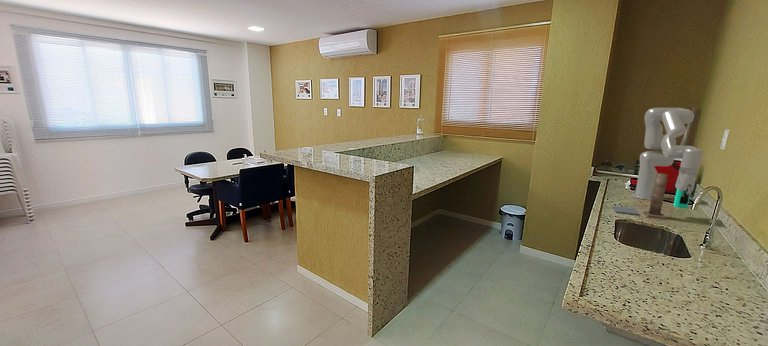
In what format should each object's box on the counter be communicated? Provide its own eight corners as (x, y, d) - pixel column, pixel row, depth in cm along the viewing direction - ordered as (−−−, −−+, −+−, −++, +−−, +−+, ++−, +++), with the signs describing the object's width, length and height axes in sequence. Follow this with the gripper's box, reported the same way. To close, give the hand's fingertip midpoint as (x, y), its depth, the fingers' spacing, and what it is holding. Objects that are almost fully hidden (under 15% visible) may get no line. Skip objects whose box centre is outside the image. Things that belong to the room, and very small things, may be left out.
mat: (612, 207, 196) (612, 205, 195) (633, 209, 191) (634, 208, 191) (615, 212, 186) (616, 211, 186) (638, 215, 181) (639, 214, 181)
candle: (690, 208, 174) (695, 187, 171) (679, 208, 175) (684, 188, 172) (680, 204, 180) (685, 184, 177) (670, 204, 180) (674, 184, 177)
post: (643, 212, 186) (650, 172, 180) (660, 214, 182) (668, 173, 177) (647, 217, 179) (655, 175, 173) (665, 219, 175) (674, 176, 170)
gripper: (674, 166, 181) (667, 196, 186) (686, 173, 166) (678, 206, 171) (691, 167, 178) (683, 198, 183) (704, 175, 163) (696, 208, 168)
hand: (681, 201), depth 177 cm, fingers closed on candle, 4 cm apart
